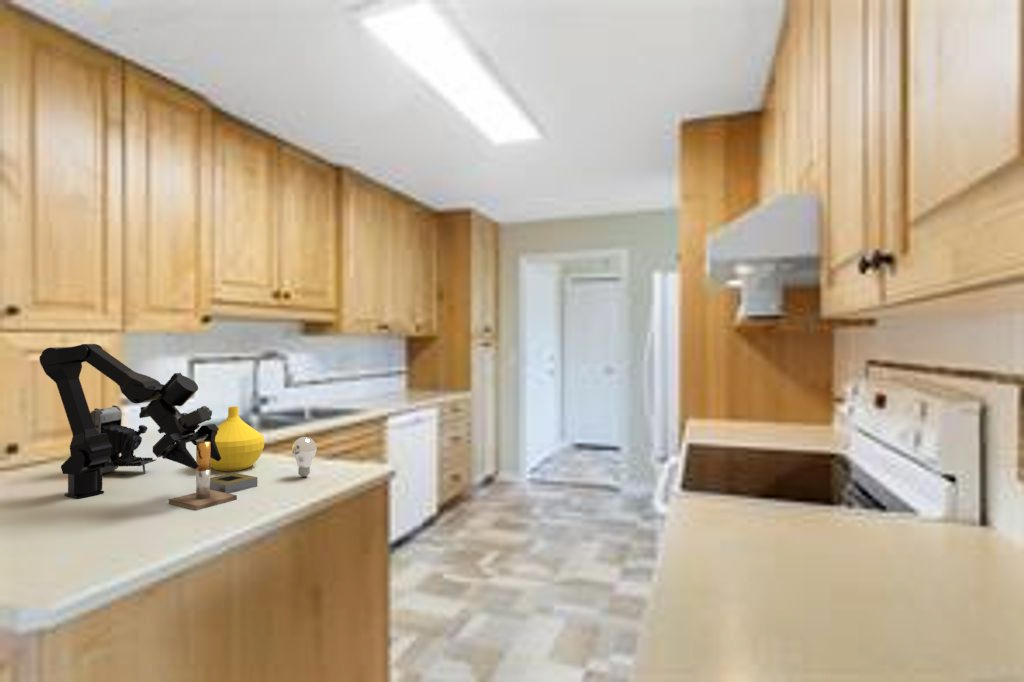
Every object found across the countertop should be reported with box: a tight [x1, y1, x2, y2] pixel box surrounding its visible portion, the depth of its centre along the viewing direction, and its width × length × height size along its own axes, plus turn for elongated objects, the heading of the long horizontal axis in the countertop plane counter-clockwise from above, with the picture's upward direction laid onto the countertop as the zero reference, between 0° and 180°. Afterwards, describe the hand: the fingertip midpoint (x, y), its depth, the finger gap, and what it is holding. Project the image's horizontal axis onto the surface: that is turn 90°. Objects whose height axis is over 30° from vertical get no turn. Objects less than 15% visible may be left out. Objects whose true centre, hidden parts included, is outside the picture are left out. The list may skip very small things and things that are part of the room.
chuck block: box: [210, 472, 258, 494], centre depth 166 cm, size 10×10×2 cm
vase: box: [210, 406, 265, 472], centre depth 189 cm, size 18×18×19 cm
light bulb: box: [291, 436, 318, 478], centre depth 179 cm, size 7×7×12 cm
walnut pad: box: [168, 490, 238, 511], centre depth 152 cm, size 11×11×1 cm
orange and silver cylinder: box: [195, 441, 211, 499], centre depth 152 cm, size 3×3×14 cm
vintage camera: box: [90, 405, 157, 475], centre depth 179 cm, size 10×15×20 cm, turn 89°
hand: (208, 463), depth 152 cm, fingers open, 9 cm apart
